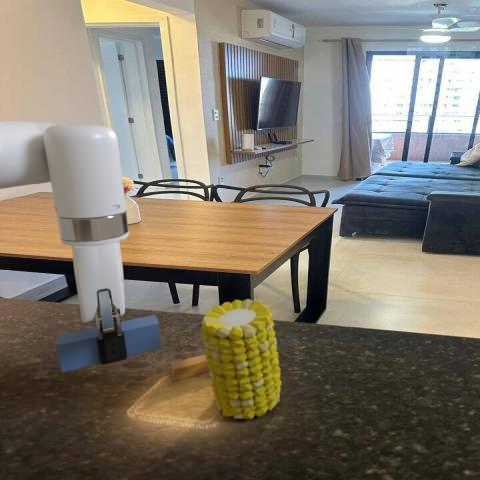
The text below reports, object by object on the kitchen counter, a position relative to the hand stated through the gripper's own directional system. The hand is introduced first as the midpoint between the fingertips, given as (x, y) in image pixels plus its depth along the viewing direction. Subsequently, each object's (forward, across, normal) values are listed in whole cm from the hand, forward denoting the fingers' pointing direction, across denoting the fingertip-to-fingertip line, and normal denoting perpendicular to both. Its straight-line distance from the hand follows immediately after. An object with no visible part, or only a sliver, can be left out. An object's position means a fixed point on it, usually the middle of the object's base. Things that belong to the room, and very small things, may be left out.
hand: (113, 353), depth 53 cm
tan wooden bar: (+7, 0, +13) cm, 15 cm away
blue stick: (0, 0, 0) cm, 0 cm away
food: (+7, +10, +15) cm, 20 cm away
